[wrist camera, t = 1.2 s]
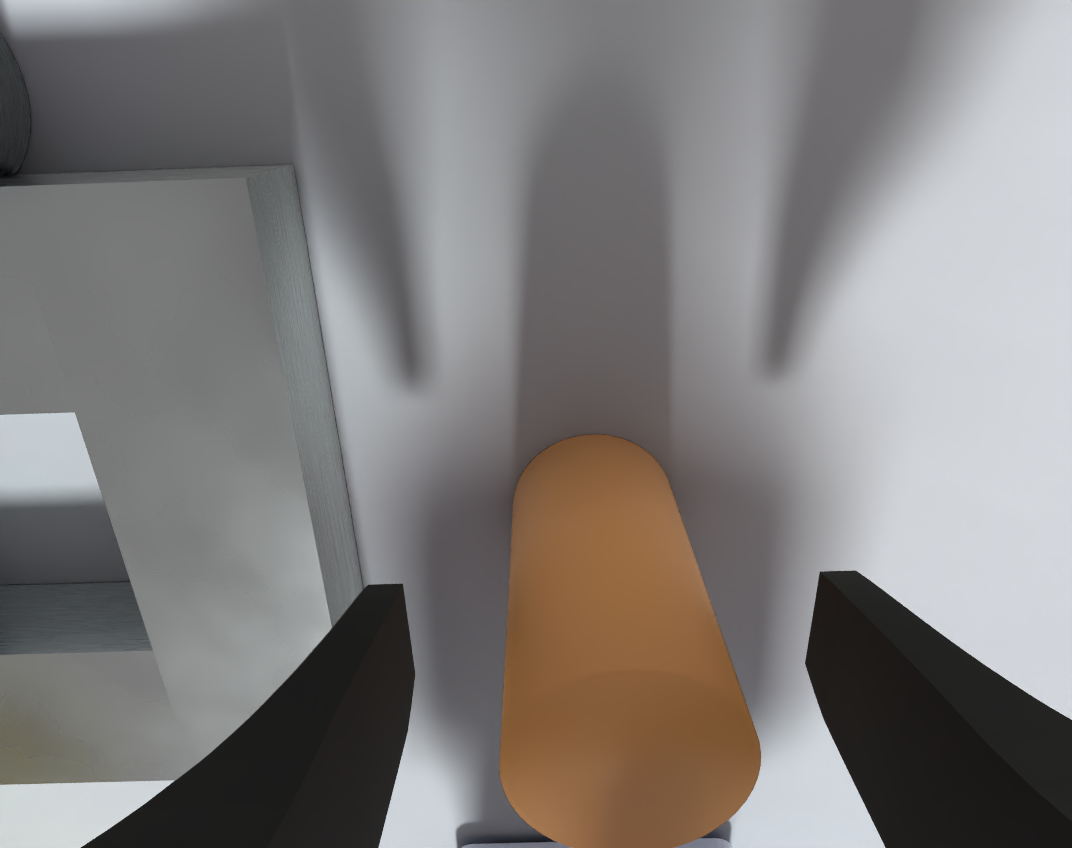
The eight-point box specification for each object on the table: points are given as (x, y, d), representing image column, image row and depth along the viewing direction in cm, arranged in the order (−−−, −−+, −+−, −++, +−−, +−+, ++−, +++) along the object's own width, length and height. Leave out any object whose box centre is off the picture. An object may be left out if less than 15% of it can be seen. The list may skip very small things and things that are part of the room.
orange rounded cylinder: (668, 568, 17) (749, 852, 11) (517, 573, 17) (506, 857, 11) (675, 431, 15) (773, 665, 9) (509, 436, 16) (492, 673, 9)
